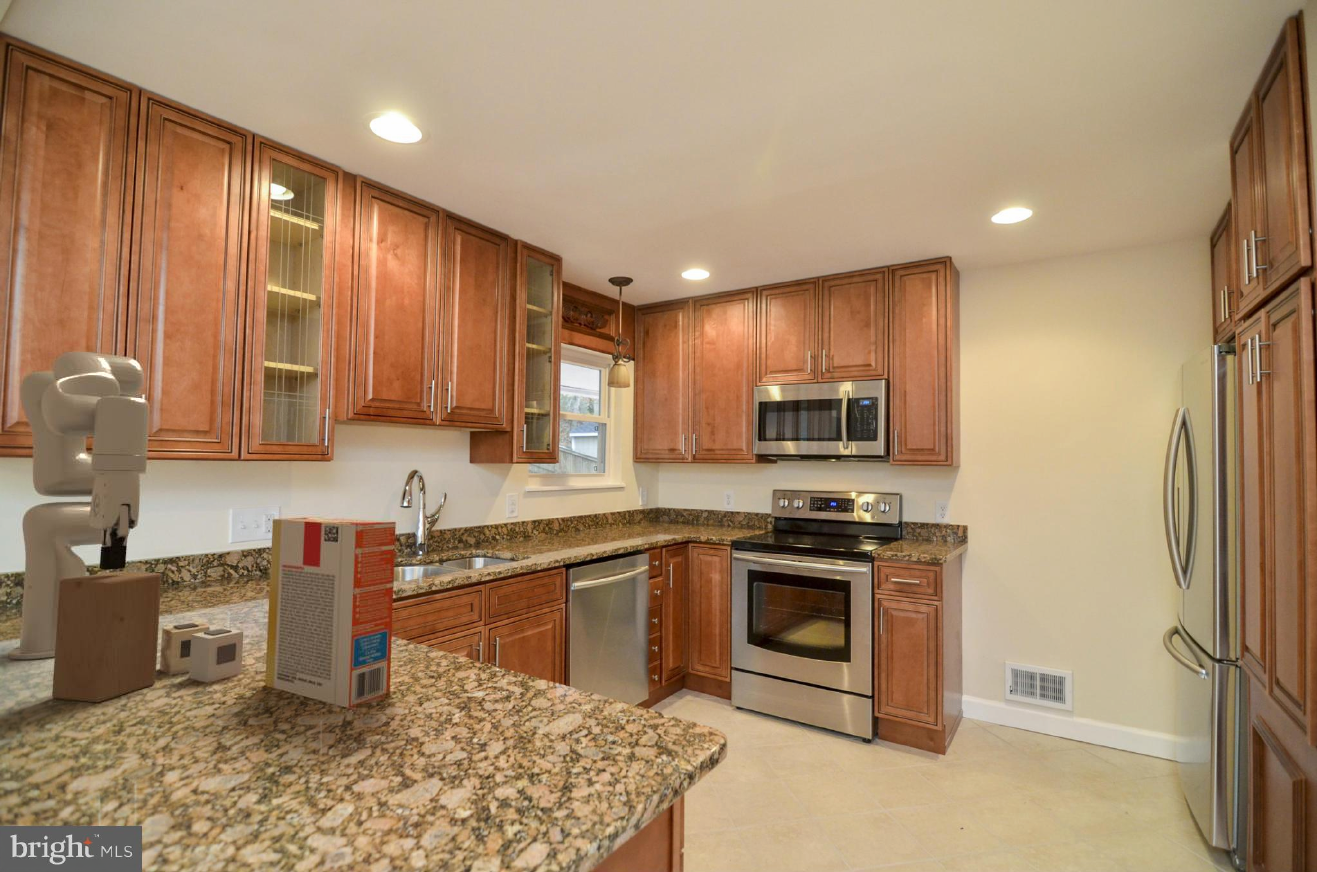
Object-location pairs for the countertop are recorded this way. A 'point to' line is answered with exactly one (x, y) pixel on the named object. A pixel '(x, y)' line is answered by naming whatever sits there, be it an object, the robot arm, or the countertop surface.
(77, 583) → the wooden block
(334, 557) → the pasta box
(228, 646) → the marked grey block
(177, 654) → the marked beech block
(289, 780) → the countertop surface
